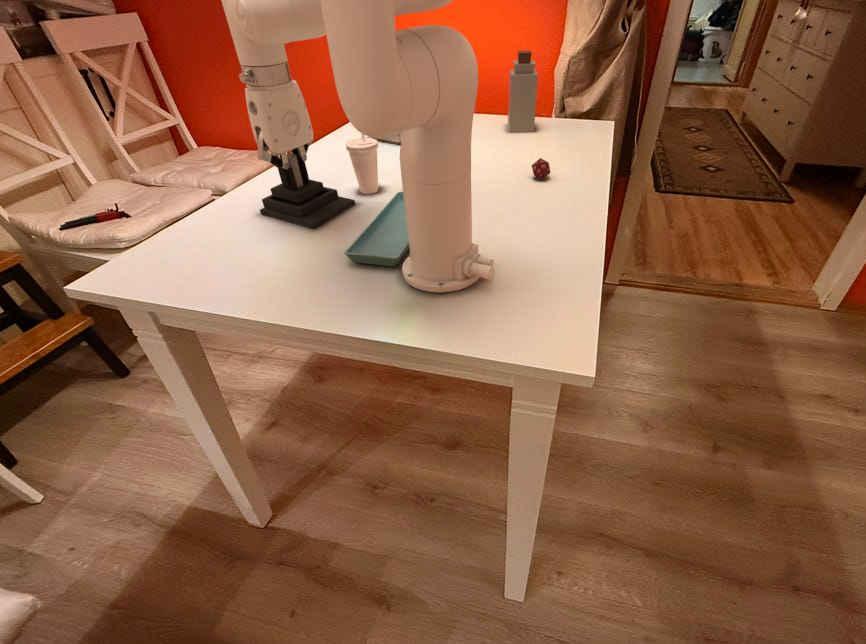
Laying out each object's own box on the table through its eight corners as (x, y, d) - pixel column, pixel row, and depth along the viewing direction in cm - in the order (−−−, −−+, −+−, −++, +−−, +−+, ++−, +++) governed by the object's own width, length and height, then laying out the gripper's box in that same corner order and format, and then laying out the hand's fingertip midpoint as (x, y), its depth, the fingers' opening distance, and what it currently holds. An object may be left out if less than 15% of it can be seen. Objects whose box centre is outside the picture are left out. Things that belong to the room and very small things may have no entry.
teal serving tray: (399, 201, 93) (397, 188, 92) (442, 204, 92) (441, 192, 90) (345, 266, 75) (342, 252, 73) (399, 272, 73) (397, 258, 71)
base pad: (355, 204, 93) (353, 191, 91) (314, 229, 85) (310, 214, 83) (304, 192, 98) (301, 179, 96) (261, 214, 90) (256, 200, 88)
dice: (535, 183, 99) (536, 163, 96) (528, 175, 102) (530, 156, 99) (551, 181, 99) (553, 162, 97) (545, 173, 103) (546, 155, 100)
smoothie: (378, 197, 95) (367, 124, 86) (349, 195, 96) (335, 123, 87) (388, 185, 100) (378, 114, 90) (360, 183, 101) (348, 113, 91)
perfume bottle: (533, 131, 126) (539, 53, 114) (509, 132, 126) (512, 54, 114) (531, 124, 131) (536, 49, 119) (507, 125, 131) (510, 49, 119)
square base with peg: (324, 189, 91) (316, 153, 86) (298, 203, 87) (288, 165, 82) (298, 183, 94) (288, 147, 89) (272, 196, 89) (260, 159, 84)
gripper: (244, 88, 70) (279, 204, 82) (318, 68, 80) (339, 174, 93) (212, 83, 73) (250, 196, 85) (287, 64, 83) (311, 168, 96)
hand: (296, 184), depth 89 cm, fingers closed on square base with peg, 2 cm apart
